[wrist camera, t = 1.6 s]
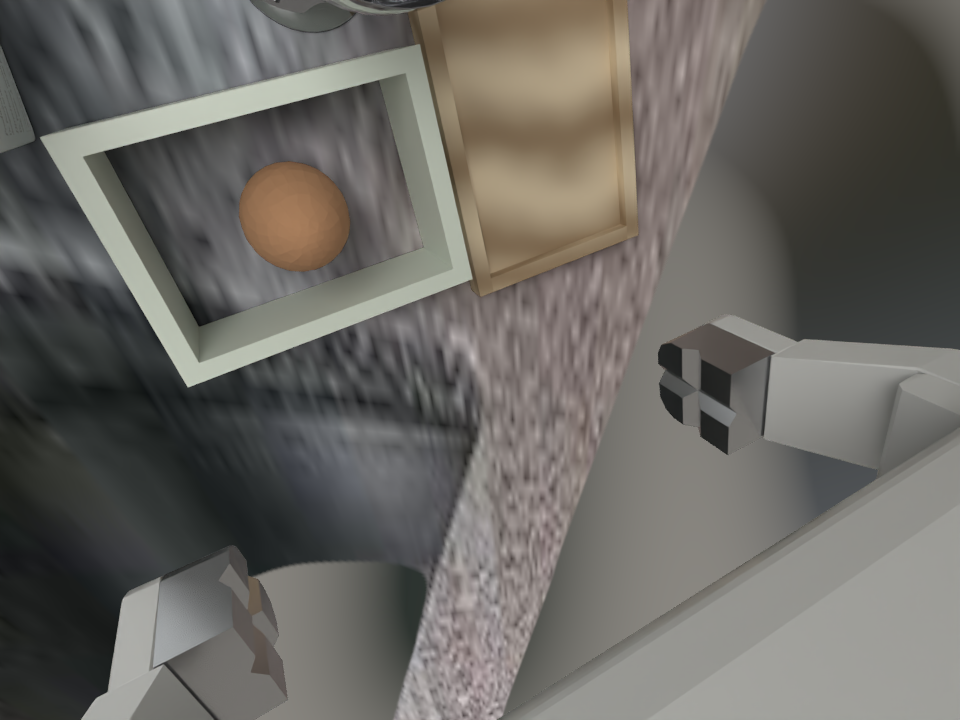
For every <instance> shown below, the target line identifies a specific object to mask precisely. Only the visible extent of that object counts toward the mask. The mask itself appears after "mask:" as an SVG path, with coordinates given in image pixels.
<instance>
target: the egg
mask: <svg viewBox="0 0 960 720" xmlns="http://www.w3.org/2000/svg"><path fill="white" fill-rule="evenodd" d="M239 218H240V222H241V226H242V229H243V231H244V234H245V237H246V239H247V240H248V242H249V243H250V245H251V246H252V247H253V248H254V250H255V251H256V252H257V253H258V254H259V255H260V256H261V257H262V258H264V259H265V260H266V261H268V262H270V263H271V264H273V265H275V266H277V267H280V268H283V269H286V270H289V271H309V270H315V269H318V268H320V267H323V266H325V265H326V264H328V263H329V262H331V261H332V260H333V259H334V258H335V257H336V256H337V255H338V254H339V253H340V252H341V251H342V249H343V247H344V245H345V243H346V241H347V238H348V235H349V230H350V218H349V212H348V207H347V204H346V201H345V199H344V197H343V195H342V193H341V191H340V190H339V189H338V187H337V186H336V185H335V184H334V182H333V181H332V180H331V179H330V178H329V177H328V176H326V175H325V174H324V173H322V172H321V171H319V170H318V169H316V168H313V167H311V166H309V165H306V164H303V163H296V162H290V161H288V162H279V163H274V164H271V165H268V166H266V167H264V168H262V169H261V170H259V171H257V172H256V173H255V174H254V175H253V176H252V178H251V179H250V180H249V181H248V182H247V184H246V186H245V188H244V190H243V192H242V194H241V198H240V203H239Z"/></svg>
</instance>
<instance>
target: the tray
mask: <svg viewBox="0 0 960 720" xmlns="http://www.w3.org/2000/svg"><path fill="white" fill-rule="evenodd" d="M408 16H409V20H410V25H411V29H412V33H413V38H414V42H415V45H417V44H420V47H421V52H422V56H423V61H424V65H425V70H426V74H427V79H428V83H429V87H430V92H431V96H432V101H433V105H434V110H435V114H436V118H437V123H438V127H439V132H440V136H441V141H442V145H443V149H444V154H445V158H446V163H447V167H448V172H449V176H450V181H451V185H452V189H453V194H454V198H455V203H456V207H457V212H458V216H459V220H460V225H461V229H462V234H463V238H464V243H465V247H466V252H467V256H468V260H469V265H470V269H471V274H472V278H473V279H471V280H469V282H470V286H471V290H472V291H473V292H475V293H476V294H477V295H479V296H480V297H482V296H484V295H487V294H489V293H492V292H495V291H497V290H500V289H502V288H505V287H507V286H510V285H512V284H515V283H517V282H520V281H523V280H525V279H528V278H530V277H533V276H535V275H538V274H540V273H543V272H546V271H548V270H551V269H553V268H556V267H558V266H561V265H563V264H566V263H568V262H571V261H574V260H576V259H579V258H581V257H584V256H586V255H589V254H591V253H594V252H597V251H599V250H602V249H604V248H607V247H609V246H612V245H614V244H617V243H619V242H622V241H625V240H627V239H630V238H632V237H635V236H637V235H638V214H637V193H636V173H635V152H634V132H633V111H632V90H631V70H630V49H629V28H628V8H627V0H446V1H443V2H441V3H438V4H436V5H433V6H431V7H428V8H425V9H422V10H420V11H415V12H408Z"/></svg>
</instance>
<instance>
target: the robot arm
mask: <svg viewBox="0 0 960 720" xmlns="http://www.w3.org/2000/svg"><path fill="white" fill-rule="evenodd" d="M658 364H659V365H660V366H661V367H662V368H663V369H665V372H664V374H663V376H662V378H661V380H660V382H659V386H660V397H661V399H662V401H663V403H664V405H665V408H666V409H667V411H668V412H669V413H670V414H671V415H672V416H673V418H675V419H676V420H677V421H679V422H680V423H682V424H683V425H689V426H694V427H698V428H699V432H700V437H702V438H703V439H705V440H706V441H708V442H709V443H711V444H712V445H713V446H715V447H716V448H718V449H719V450H721V451H722V452H724V453H725V454H727V455H729V454H731V453H733V452H735V451H737V450H739V449H741V448H743V447H745V446H747V445H749V444H751V443H753V442H754V441H756V440H758V439H760V438H762V437H764V439H766V440H770V441H773V442H776V443H780V444H784V445H788V446H791V447H795V448H799V449H802V450H806V451H810V452H814V453H818V454H821V455H825V456H828V457H832V458H836V459H839V460H843V461H847V462H850V463H854V464H858V465H862V466H865V467H869V468H873V469H876V470H878V474H877V478H876V480H875V481H873V482H872V483H870V484H869V485H867V486H866V487H864V488H862V489H861V490H859V491H858V492H856V493H855V494H853V495H851V496H850V497H848V498H847V499H845V500H843V501H842V502H840V503H839V504H837V505H836V506H834V507H832V508H831V509H829V510H828V511H826V512H824V513H823V514H821V515H820V516H818V517H817V518H815V519H813V520H812V521H810V522H809V523H807V524H805V525H804V526H802V527H801V528H799V529H798V530H796V531H794V532H793V533H791V534H790V535H788V536H787V537H785V538H783V539H782V540H780V541H779V542H777V543H775V544H774V545H772V546H771V547H769V548H768V549H766V550H765V551H763V552H761V553H760V554H758V555H756V556H755V557H753V558H752V559H750V560H749V561H747V562H745V563H744V564H742V565H741V566H739V567H738V568H736V569H735V570H733V571H731V572H730V573H728V574H726V575H725V576H723V577H722V578H720V579H719V580H717V581H716V582H714V583H712V584H711V585H709V586H708V587H706V588H704V589H703V590H701V591H700V592H698V593H696V594H695V595H693V596H692V597H690V598H689V599H687V600H686V601H684V602H682V603H681V604H679V605H678V606H676V607H674V608H673V609H671V610H670V611H668V612H666V613H665V614H663V615H662V616H660V617H659V618H657V619H655V620H654V621H652V622H651V623H649V624H648V625H646V626H644V627H643V628H641V629H640V630H638V631H636V632H635V633H633V634H632V635H630V636H628V637H627V638H625V639H624V640H622V641H621V642H619V643H617V644H616V645H614V646H613V647H611V648H609V649H608V650H606V651H605V652H603V653H602V654H600V655H598V656H597V657H595V658H594V659H592V660H591V661H589V662H587V663H586V664H584V665H583V666H581V667H580V668H578V669H576V670H575V671H573V672H571V673H570V674H569V675H567V676H565V677H564V678H562V679H561V680H559V681H557V682H556V683H554V684H553V685H551V686H549V687H548V688H546V689H545V690H543V691H541V692H540V693H538V694H537V695H535V696H533V697H532V698H530V699H529V700H527V701H526V702H524V703H522V704H521V705H519V706H518V707H516V708H515V709H513V710H511V711H510V712H508V713H507V714H505V715H503V716H502V717H500V718H499V719H497V720H960V350H957V349H946V348H944V349H943V348H930V347H913V346H899V345H884V344H869V343H853V342H837V341H823V340H807V339H804V340H802V341H800V342H796V341H794V340H792V339H789V338H787V337H784V336H782V335H780V334H777V333H775V332H772V331H770V330H767V329H765V328H763V327H760V326H758V325H755V324H753V323H751V322H748V321H746V320H743V319H741V318H739V317H736V316H734V315H726V314H723V315H721V316H719V317H717V318H715V319H713V320H711V321H709V322H707V323H705V324H703V325H702V326H700V327H698V328H696V329H694V330H692V331H690V332H687V333H685V334H683V335H681V336H679V337H677V338H675V339H673V340H670V341H669V342H666V343H664V344H662V345H661V347H660V349H659V352H658ZM278 636H279V634H278V628H277V621H276V618H275V614H274V611H273V608H272V604H271V602H270V599H269V597H268V595H267V593H266V591H265V589H264V587H263V586H262V584H261V583H260V581H259V580H258V579H256V578H252V577H249V576H248V573H247V564H246V560H245V558H244V557H243V556H242V554H241V553H240V551H239V550H238V549H237V547H235V546H232V545H230V546H228V547H226V548H224V549H221V550H219V551H217V552H215V553H212V554H210V555H208V556H206V557H203V558H201V559H199V560H196V561H194V562H192V563H190V564H187V565H185V566H183V567H181V568H178V569H176V570H174V571H172V572H169V573H167V574H165V575H164V576H162V577H159V578H157V579H155V580H152V581H150V582H148V583H146V584H144V585H141V586H139V587H137V588H135V589H132V590H130V591H128V593H127V594H126V595H125V597H124V598H123V600H122V605H121V611H120V617H119V624H118V630H117V636H116V643H115V649H114V655H113V662H112V668H111V675H110V681H109V687H108V693H106V694H104V695H102V696H100V697H98V698H96V699H95V701H94V702H93V703H92V705H91V706H90V708H89V709H88V711H87V712H86V713H85V715H84V716H83V718H82V719H81V720H255V719H257V718H258V717H260V716H262V715H263V714H265V713H267V712H269V711H270V710H272V709H274V708H275V707H277V706H279V705H280V704H282V703H283V702H285V701H287V700H288V697H287V690H286V682H285V675H284V668H283V661H282V659H281V658H280V656H279V655H278V653H277V652H276V650H275V649H274V645H275V643H276V641H277V638H278Z"/></svg>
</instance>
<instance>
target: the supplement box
mask: <svg viewBox="0 0 960 720" xmlns="http://www.w3.org/2000/svg"><path fill="white" fill-rule="evenodd" d="M33 141H35V135H34V132H33V129H32V126H31V124H30V121H29V118H28V116H27V113H26V111H25V108H24V105H23V103H22V100H21V97H20V95H19V92H18V90H17V87H16V84H15V82H14V79H13V76H12V74H11V71H10V69H9V66H8V63H7V61H6V58H5V56H4V53H3V50H2V48H1V45H0V153H2V152H5V151H8V150H11V149H14V148H17V147H20V146H23V145H25V144H28V143H31V142H33Z"/></svg>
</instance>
